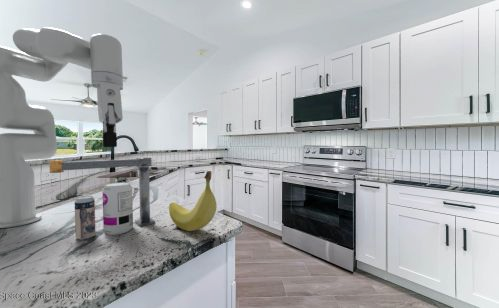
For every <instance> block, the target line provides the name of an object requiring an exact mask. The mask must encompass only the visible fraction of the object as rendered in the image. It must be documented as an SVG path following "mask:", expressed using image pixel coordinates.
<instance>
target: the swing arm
mask: <svg viewBox="0 0 499 308" xmlns="http://www.w3.org/2000/svg"><path fill="white" fill-rule="evenodd" d="M152 161H153V159H152V157H135V158H129V159H128V158H126V159H104V160H103V159H102V160H99V159H98V160H79V161H65V160H60V159H59V160H57V159H56V160H55V159H54V160H49V165H48V166H49V173H50V174H57V173H58V174H59V173H65V171H73V170H74V171H76V170H78V171H79V170H93V169H105V168H106V169H109V168H123V167H124V168H125V167H138V168H139V167H152V165H153V163H152Z"/></svg>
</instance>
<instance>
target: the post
mask: <svg viewBox="0 0 499 308" xmlns="http://www.w3.org/2000/svg"><path fill="white" fill-rule="evenodd" d="M138 175H139V177H138V182H139V184H138V185H139V186H138V187H139V189H138V191H139V219H137V220H134V223H135V225H137V226H138V227H144V226H148V225H152V224H153V225H154V224H156V220H154V219H153V218H151V204H150V203H151V199H150V196H151V193H150V192H151V190H150V187H151V186H150V166H146V167H138Z"/></svg>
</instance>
